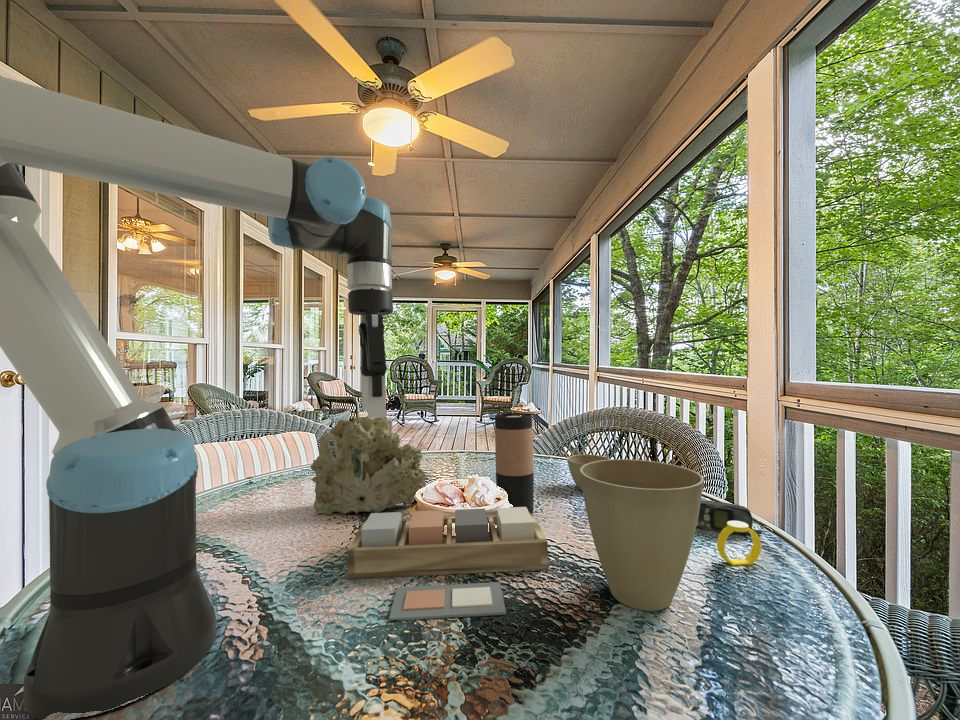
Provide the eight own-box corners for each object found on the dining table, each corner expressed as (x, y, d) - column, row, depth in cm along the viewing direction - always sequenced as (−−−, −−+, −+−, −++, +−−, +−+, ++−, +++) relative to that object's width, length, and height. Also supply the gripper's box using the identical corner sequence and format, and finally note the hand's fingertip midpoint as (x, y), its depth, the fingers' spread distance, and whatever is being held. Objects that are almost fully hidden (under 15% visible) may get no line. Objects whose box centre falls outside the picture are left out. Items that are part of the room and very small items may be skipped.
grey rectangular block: (488, 544, 63) (488, 524, 63) (455, 545, 63) (455, 525, 63) (485, 526, 70) (485, 508, 70) (455, 527, 70) (455, 509, 70)
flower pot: (566, 493, 97) (565, 462, 97) (569, 481, 107) (569, 453, 107) (611, 496, 94) (610, 464, 94) (610, 484, 104) (610, 455, 104)
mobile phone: (664, 499, 78) (761, 509, 70) (666, 494, 80) (760, 504, 73) (665, 525, 77) (763, 539, 70) (667, 520, 80) (761, 533, 72)
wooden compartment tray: (548, 569, 61) (547, 541, 61) (347, 579, 60) (347, 551, 60) (533, 535, 73) (532, 513, 73) (365, 543, 72) (365, 520, 72)
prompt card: (506, 614, 50) (505, 610, 50) (388, 621, 50) (388, 616, 50) (499, 584, 57) (499, 580, 57) (397, 589, 57) (397, 585, 57)
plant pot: (628, 643, 45) (624, 494, 45) (562, 577, 59) (560, 464, 59) (737, 617, 49) (733, 480, 49) (651, 560, 63) (649, 455, 63)
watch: (727, 571, 60) (723, 529, 60) (715, 562, 63) (711, 522, 63) (766, 565, 61) (762, 524, 61) (753, 557, 64) (749, 518, 64)
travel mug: (503, 523, 80) (501, 418, 80) (491, 510, 87) (489, 413, 87) (540, 518, 82) (538, 416, 82) (526, 506, 89) (524, 412, 89)
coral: (433, 502, 93) (431, 412, 93) (425, 519, 83) (423, 418, 83) (323, 502, 94) (321, 414, 94) (302, 519, 84) (300, 419, 85)
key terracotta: (442, 546, 63) (442, 526, 63) (409, 547, 63) (408, 527, 63) (443, 528, 70) (443, 510, 70) (413, 529, 70) (413, 511, 70)
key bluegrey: (395, 548, 63) (395, 528, 63) (361, 550, 62) (361, 529, 62) (401, 530, 70) (401, 512, 70) (371, 531, 69) (370, 513, 69)
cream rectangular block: (534, 541, 64) (533, 522, 64) (501, 543, 64) (501, 523, 64) (526, 524, 71) (526, 506, 71) (497, 525, 71) (496, 508, 71)
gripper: (403, 277, 62) (406, 420, 62) (384, 302, 86) (386, 405, 85) (350, 275, 60) (353, 423, 59) (345, 301, 83) (347, 408, 83)
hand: (373, 413), depth 72 cm, fingers open, 13 cm apart
